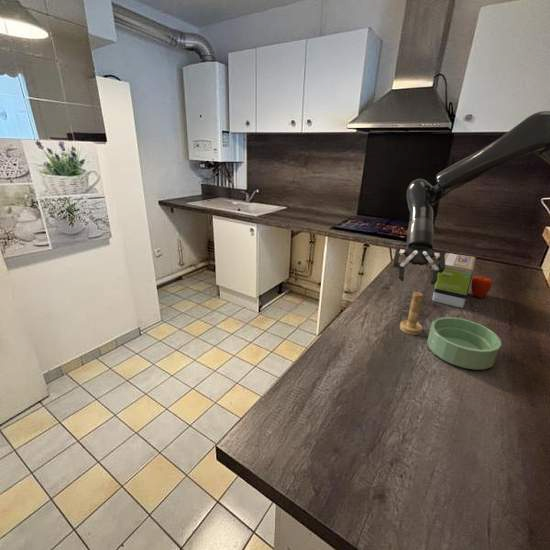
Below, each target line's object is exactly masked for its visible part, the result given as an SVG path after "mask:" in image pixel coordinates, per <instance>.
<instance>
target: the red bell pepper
mask: <svg viewBox="0 0 550 550" xmlns="http://www.w3.org/2000/svg"><path fill="white" fill-rule="evenodd" d="M492 285H493V280H492V279H491V278H489V277H487V276H484V275H475V276H474V277H472V279H471V283H470V287H471V288H470V289H471V292H472V295H473V296H474V297H478V298H485V297H486V295H488V293H489V291H490V290H491V288H492Z"/></svg>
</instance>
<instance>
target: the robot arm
mask: <svg viewBox="0 0 550 550" xmlns="http://www.w3.org/2000/svg"><path fill="white" fill-rule="evenodd" d="M530 153H531V154H532V153H533V154H534V155H536V156H538V157H540V158H541V159H542V160H543V161H544V162H546V163H547V164H548V165H550V110H542V111H538V112H534V113H532V114H530V115H529V116H527V117H525V118H524V120H522V121H521V122H520V123H518V124H516V126H514V127H512V128H511V129H509V131H507V132H506V133H504V134H503V135H502V136H500V137H499V138H497V139H496V140H494V141H492V142H491V143H489V144H488V145H486V146H484V147H482V148H481V149H479V150H478V151H476V152H474V153H472V154H470V155H468V156H466V157H465V158H462V159H461V160H459V161H457V162H455V163H454V164H452V165H450V166H448V167H446V168H444V169H443V170H441V171H440V172H438V173H437V174H436V176H435V182H436V185H434V186H433V185H432V184H431V183H430V182H428V181H427V180H426V179H423V178H416V179H414V180H413V181H412V182H410V184H409V185H408V187H407V189H406V202H407V208H408V211H409V217H408V226H407V232H406V246H405V249H402V248H400V247H399V246H398V247H396V248H395V251H394V257H393V262H392V267H393V268H396V269H397V270H398V275H397V279H399V281H401V282H403V281H404V278H405V269H406V267H407V266H409V264H412V265H413V266H414V265H415V266H417V265H418V266H425V267H426V268H427V269H428V270H429V271H430V272H431V273H430V285H432V286H434V285H435V284H436V282H437V279H438V273H439V272H440V273H442V272H443V270H444V269H445V254H446V253H445V252H444V251H440V252H435V251H434V231H435V230H434V209H433V207H432V206H434V205H436V204H437V203H439V202H440V201H441V200H442V199H444V198H445V197H446V196H447V195H448V194H449V193H451V192H452V191H454V190H456V189H458V188H460V187H462V186H464V185H466V184H468V183H470V182H472V181H474V180H475V179H477V178H479V177H481V176H482V175H484V174H486V173H487V172H489V171H491V170H492V169H494V168H496V167H499V166H500V165H502V164H505V163H506V162H509V161H511V160H513V159H516V158H519V157H522V156H525V155H529V154H530ZM402 255H404V256H405V258H404V260H403V261H402V262H399V260H400V257H402ZM433 258H435V260H436V261H437V265H436V264H435V261H434V260H433Z"/></svg>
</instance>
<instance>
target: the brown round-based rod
mask: <svg viewBox="0 0 550 550" xmlns="http://www.w3.org/2000/svg"><path fill="white" fill-rule="evenodd" d="M423 298H424V293H423V292H422V293H421V292H419V291H413V293H412V297H411V302H410V306H409V309H408V310H409V311H408V316H407V319H402V320H401V321H400V324H399V329H400V331H401V332H403V333H405V334H408V335H412V336H418V335H420V334H421V333H422V331H423V326H422V325H421V323H419V322H418V319H419V315H420V310H421V306H422V302H423Z"/></svg>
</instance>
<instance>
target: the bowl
mask: <svg viewBox="0 0 550 550" xmlns="http://www.w3.org/2000/svg"><path fill="white" fill-rule="evenodd" d="M426 344H427V347H428V348H429V349H430V351H431V352H432V353H433V354H434V355H435V356H437V357H438V358H440V359H441V360H443V361H445V362H447V363H448V364H451V365H453V366H457V367H460V368H463V369H469V370H487V369H489V368H492V367H493V366H494V365H495V363H496V361H497V358H498V356H499V352H500V350H501V347H502V340H501V338H500V337H499V336H498V334H496V332H494V331H492V330H491V329H490V328H488V327H486V326H484V325H482V324H480V323H478V322H475V321H472V320H469V319H465V318H461V317H453V316H443V317H438V318H435V319H434V320H433V321H432V322H431V324H430V328H429V332H428V337H427V340H426Z"/></svg>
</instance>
